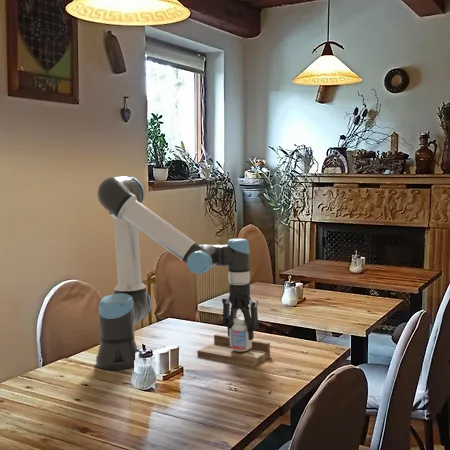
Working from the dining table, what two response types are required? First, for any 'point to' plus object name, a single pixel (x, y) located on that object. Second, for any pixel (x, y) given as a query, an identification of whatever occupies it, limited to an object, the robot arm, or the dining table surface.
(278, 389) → the dining table surface
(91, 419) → the dining table surface
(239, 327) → the pill bottle
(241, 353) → the wooden stand
